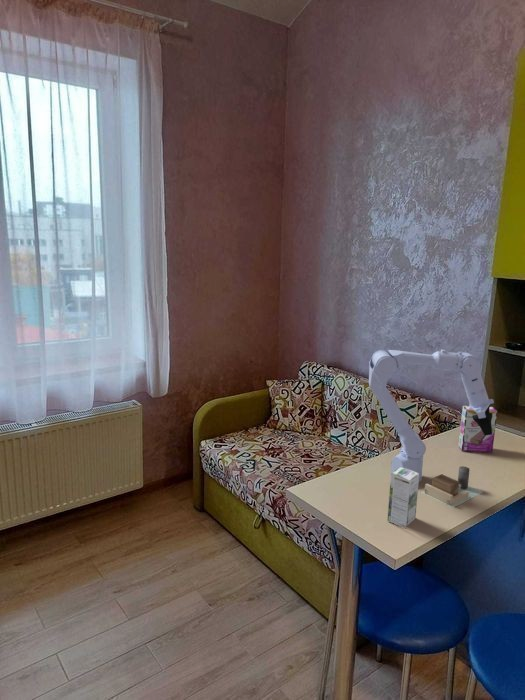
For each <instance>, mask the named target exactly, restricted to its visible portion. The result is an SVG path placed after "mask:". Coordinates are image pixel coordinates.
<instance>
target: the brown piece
mask: <svg viewBox="0 0 525 700" xmlns="http://www.w3.org/2000/svg"><path fill="white" fill-rule="evenodd" d="M457 475H458V476H457V479H455V478H452V477H450V476H447V475H444V474H439V475H437V476H436V475H435V476H434V477H432V483H431V485H432V486H434V487H436V488H438V489H440V490H442V491H445V492H447V493H449V494H451V495H453V497H454V496H456V495H458V491H459V488H463V489H466V488H468V485H469V480H470V479H469V478H470V467H468V466H459V467H458V474H457ZM454 479H455V480H454Z"/></svg>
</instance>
